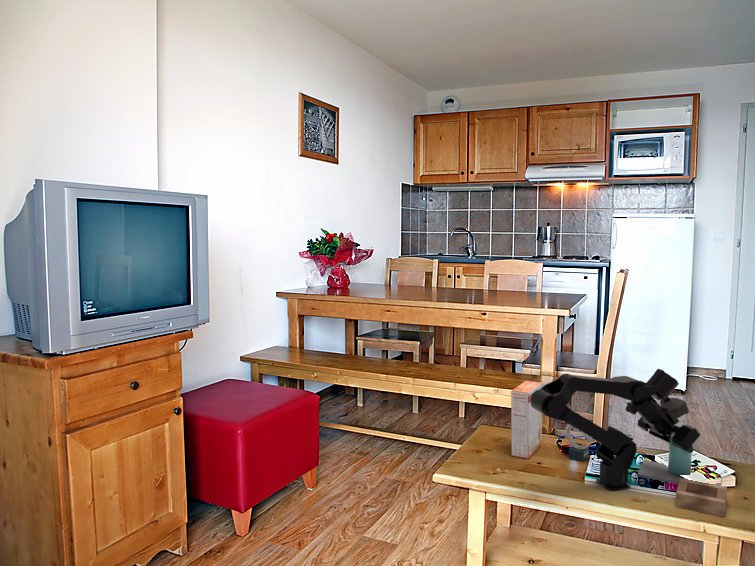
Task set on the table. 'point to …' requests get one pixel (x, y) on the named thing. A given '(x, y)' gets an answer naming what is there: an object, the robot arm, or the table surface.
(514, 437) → the cracker box
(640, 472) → the gray rectangular panel
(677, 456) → the teal jar
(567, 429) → the watch
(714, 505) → the walnut frame
